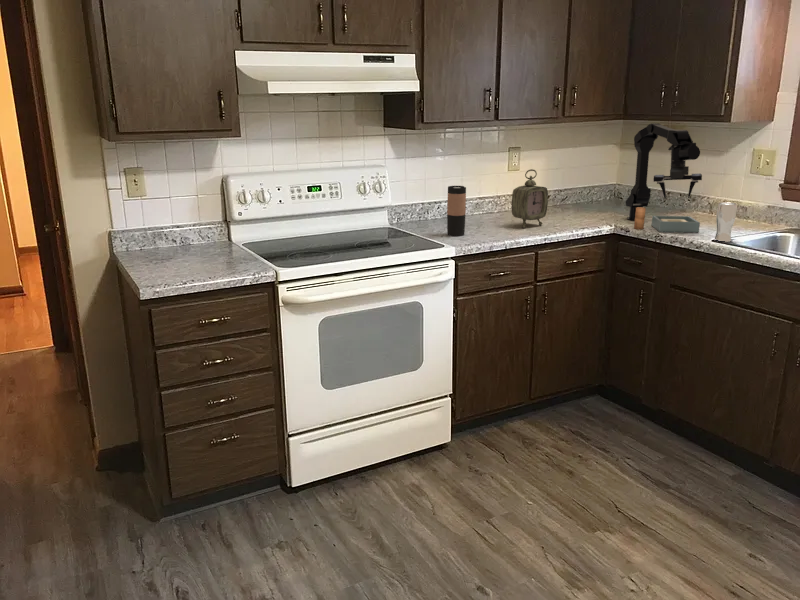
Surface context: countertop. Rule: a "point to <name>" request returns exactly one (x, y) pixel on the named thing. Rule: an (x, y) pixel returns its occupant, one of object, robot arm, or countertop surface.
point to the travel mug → (456, 210)
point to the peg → (639, 218)
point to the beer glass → (725, 220)
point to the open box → (675, 224)
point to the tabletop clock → (529, 201)
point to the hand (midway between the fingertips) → (676, 198)
